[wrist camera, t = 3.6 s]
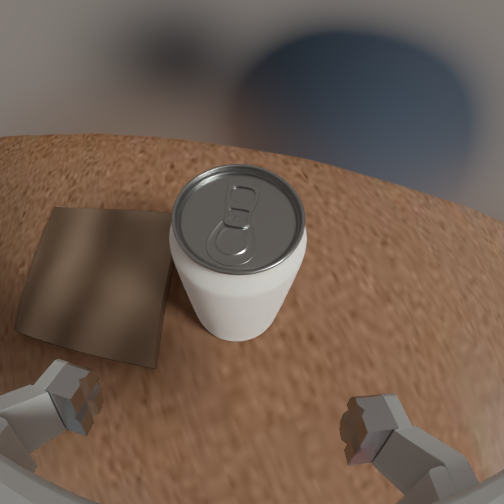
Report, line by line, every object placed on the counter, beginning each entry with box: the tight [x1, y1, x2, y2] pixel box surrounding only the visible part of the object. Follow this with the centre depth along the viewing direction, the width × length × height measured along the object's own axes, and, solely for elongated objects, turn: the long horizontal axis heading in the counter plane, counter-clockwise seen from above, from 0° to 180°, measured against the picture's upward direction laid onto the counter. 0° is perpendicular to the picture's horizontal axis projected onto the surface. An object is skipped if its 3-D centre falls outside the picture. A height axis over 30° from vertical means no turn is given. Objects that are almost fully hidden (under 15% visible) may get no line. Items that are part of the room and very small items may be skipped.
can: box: [169, 164, 307, 341], centre depth 17 cm, size 6×6×12 cm
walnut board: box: [14, 207, 174, 369], centre depth 22 cm, size 14×13×1 cm
